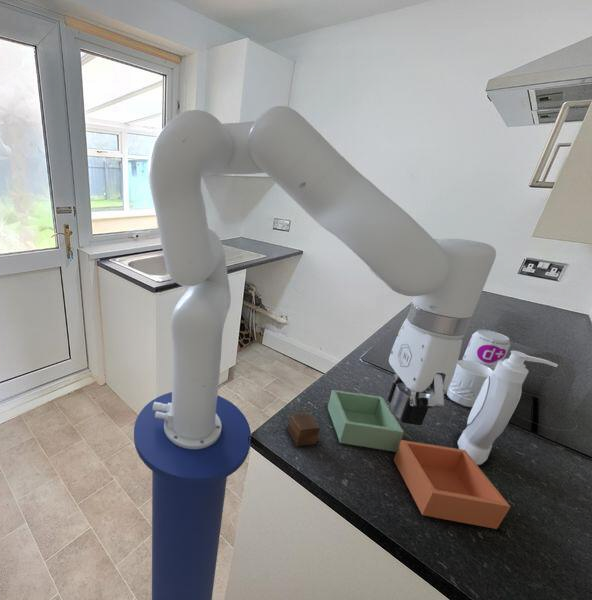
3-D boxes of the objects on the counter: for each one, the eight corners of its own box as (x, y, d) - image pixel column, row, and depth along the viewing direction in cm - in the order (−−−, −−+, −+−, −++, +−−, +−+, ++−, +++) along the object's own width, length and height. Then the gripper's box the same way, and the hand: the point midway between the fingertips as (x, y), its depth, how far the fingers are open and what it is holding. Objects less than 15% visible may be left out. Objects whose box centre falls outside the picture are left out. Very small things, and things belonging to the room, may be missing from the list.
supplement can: (494, 390, 89) (516, 344, 84) (458, 380, 93) (477, 336, 88) (487, 377, 96) (507, 333, 90) (454, 368, 100) (471, 326, 94)
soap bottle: (505, 483, 60) (565, 378, 52) (455, 460, 65) (502, 360, 56) (501, 445, 70) (552, 351, 61) (458, 427, 74) (499, 337, 65)
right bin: (422, 515, 54) (432, 492, 52) (393, 460, 64) (401, 439, 62) (497, 529, 52) (510, 506, 50) (455, 470, 63) (464, 449, 61)
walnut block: (296, 446, 67) (300, 429, 65) (287, 430, 71) (290, 414, 69) (315, 444, 67) (320, 427, 66) (305, 428, 72) (309, 413, 70)
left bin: (339, 442, 68) (345, 423, 66) (327, 407, 79) (332, 389, 77) (396, 452, 66) (404, 432, 64) (376, 414, 77) (382, 396, 75)
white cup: (449, 386, 90) (462, 357, 86) (484, 402, 84) (499, 371, 80) (439, 395, 86) (452, 364, 82) (475, 413, 80) (490, 380, 76)
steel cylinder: (395, 420, 54) (403, 396, 52) (384, 403, 58) (392, 380, 56) (422, 424, 53) (432, 400, 51) (410, 406, 57) (418, 384, 55)
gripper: (388, 298, 57) (364, 381, 64) (441, 342, 41) (402, 446, 48) (433, 302, 56) (404, 386, 63) (504, 348, 40) (455, 454, 47)
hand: (403, 411), depth 55 cm, fingers closed on steel cylinder, 4 cm apart
